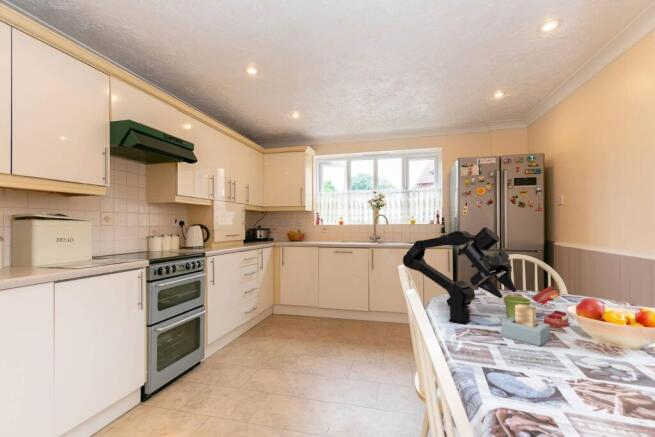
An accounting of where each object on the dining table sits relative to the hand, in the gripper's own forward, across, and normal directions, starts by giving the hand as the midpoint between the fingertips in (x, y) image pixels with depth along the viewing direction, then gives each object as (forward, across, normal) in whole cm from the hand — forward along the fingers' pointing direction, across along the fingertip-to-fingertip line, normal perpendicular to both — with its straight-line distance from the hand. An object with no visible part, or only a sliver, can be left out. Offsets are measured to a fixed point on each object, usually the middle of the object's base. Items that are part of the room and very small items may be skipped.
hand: (508, 294), depth 104 cm
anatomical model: (+14, +25, +8) cm, 30 cm away
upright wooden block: (+13, -1, +5) cm, 14 cm away
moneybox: (+13, -1, +5) cm, 14 cm away
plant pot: (+8, +15, +14) cm, 22 cm away
